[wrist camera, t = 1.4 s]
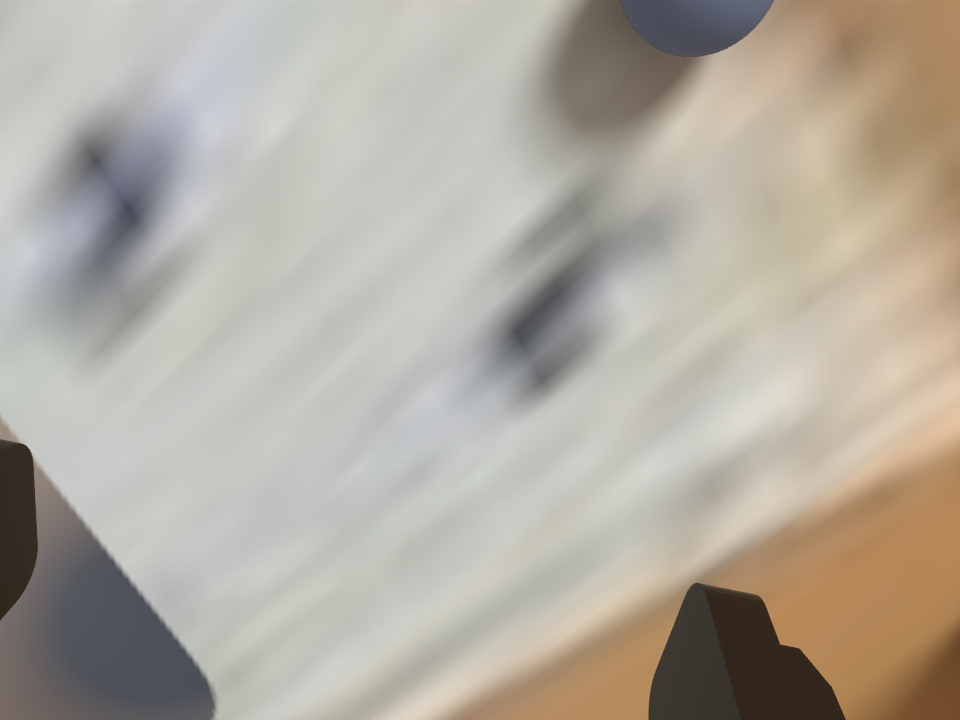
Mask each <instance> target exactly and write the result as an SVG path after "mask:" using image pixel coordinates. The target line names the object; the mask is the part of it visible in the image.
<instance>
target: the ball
mask: <svg viewBox="0 0 960 720" xmlns="http://www.w3.org/2000/svg"><path fill="white" fill-rule="evenodd" d="M620 1H621V4H622V7H623V10H624V12H625V14H626V16H627V19H628V20H629V22H630V23H631V25H632V27H633V28H634V29H635V30H636V31H637V33H638V34H639V35H640V36H641V37H642V38H643V39H644V40H645V41H647V42H648V43H649V44H651V45H652V46H654V47H655V48H657V49H659V50H662V51H664V52H666V53H670V54H673V55H678V56H691V57H695V56H704V55H709V54H713V53H717V52H719V51H722V50H724V49H727V48H728V47H730V46H732V45H734V44H736V43H737V42H739V41H740V40H741V39H743V38H744V37H746V36H747V35H748V34H749V33H750V32H751V31H752V30H753V29H754V28H755V27H756V26H757V25H758V24H759V23H760V21H761V20H762V19H763V18H764V16H765V15H766V13H767V12H768V10H769V9H770V7H771V5H772V3H773V1H774V0H620Z"/></svg>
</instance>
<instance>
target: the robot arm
mask: <svg viewBox="0 0 960 720" xmlns="http://www.w3.org/2000/svg"><path fill="white" fill-rule="evenodd" d="M37 551H38V542H37V524H36V505H35V487H34V468H33V457H32V454H31V452H30V450H29V448H28V447H27V446H26V445H24V444H21V443H16V442H11V441H6V440H1V439H0V620H1V619H2V618H3V617H4V615H5V614H6V613H7V612H8V611H9V610H10V609H11V607H12V606H13V605H14V604H15V603H16V602H17V600H18V599H19V598H20V596H21V595H22V593H23V592H24V590H25V588H26V586H27V585H28V582H29V580H30V578H31V575H32V573H33V570H34V567H35V563H36V558H37ZM649 720H846V719H845V717H844V715H843V712H842V710H841V708H840V705H839V703H838V701H837V698H836V696H835V694H834V691H833V689H832V687H831V686H830V685H829V683H828V682H827V681H826V680H825V679H824V677H823V676H822V675H821V674H820V673H819V671H818V670H817V669H816V668H815V667H814V666H813V664H812V663H811V662H810V661H809V660H808V658H807V657H806V656H805V655H804V654H803V652H802V651H801V650H800V649H799V648H794V647H789V646H784V645H780V643H779V640H778V638H777V635H776V632H775V630H774V627H773V624H772V622H771V619H770V616H769V614H768V611H767V608H766V606H765V604H764V602H763V600H762V599H761V598H760V597H759V596H758V595H755V594H750V593H745V592H740V591H735V590H730V589H725V588H720V587H715V586H710V585H705V584H700V583H694V584H693V585H692V586H691V587H690V588H689V590H688V591H687V593H686V596H685V598H684V600H683V603H682V605H681V608H680V611H679V613H678V616H677V618H676V621H675V623H674V626H673V628H672V631H671V633H670V636H669V638H668V641H667V644H666V646H665V649H664V651H663V654H662V656H661V659H660V661H659V664H658V666H657V669H656V672H655V674H654V678H653V681H652V686H651V691H650V699H649Z"/></svg>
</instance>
